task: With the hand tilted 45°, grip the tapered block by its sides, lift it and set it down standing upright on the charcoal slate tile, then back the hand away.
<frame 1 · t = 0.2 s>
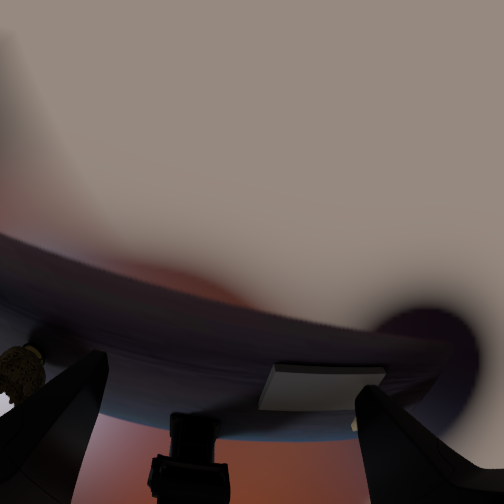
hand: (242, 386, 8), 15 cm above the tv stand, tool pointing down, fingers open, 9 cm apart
slate tile: (322, 386, 30), on the tv stand
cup: (36, 350, 26), on the tv stand
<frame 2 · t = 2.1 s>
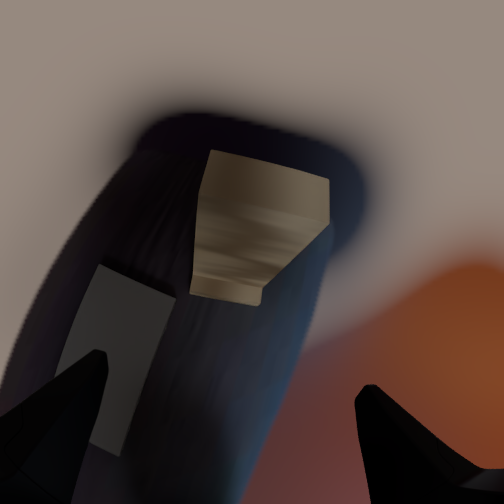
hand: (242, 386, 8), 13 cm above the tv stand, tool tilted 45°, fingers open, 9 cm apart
slate tile: (106, 362, 19), on the tv stand
tapered block: (228, 271, 24), on the tv stand
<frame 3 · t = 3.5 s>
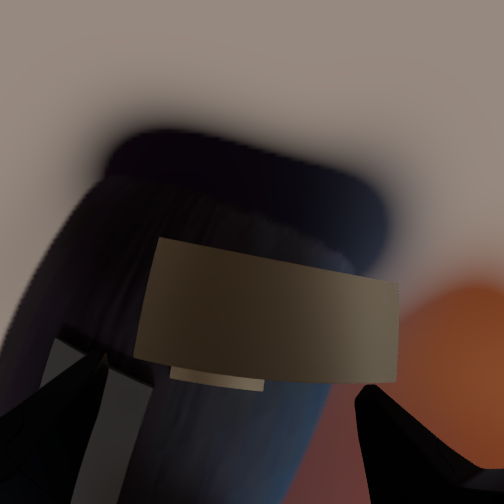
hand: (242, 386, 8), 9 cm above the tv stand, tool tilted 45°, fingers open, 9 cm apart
slate tile: (79, 449, 12), on the tv stand
tapered block: (220, 346, 17), on the tv stand
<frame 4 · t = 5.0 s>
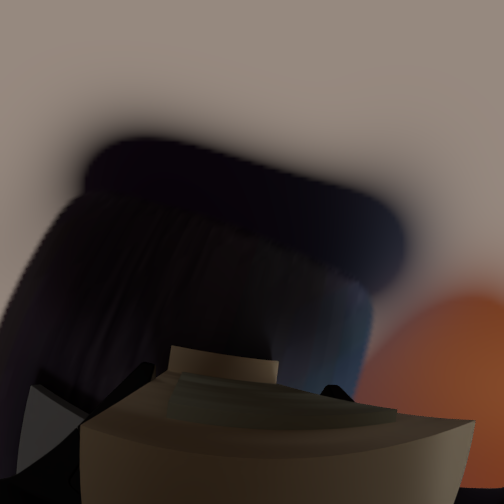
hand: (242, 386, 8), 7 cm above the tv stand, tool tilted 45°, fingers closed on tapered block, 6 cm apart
slate tile: (69, 496, 9), on the tv stand
tapered block: (217, 397, 14), on the tv stand, touching gripper
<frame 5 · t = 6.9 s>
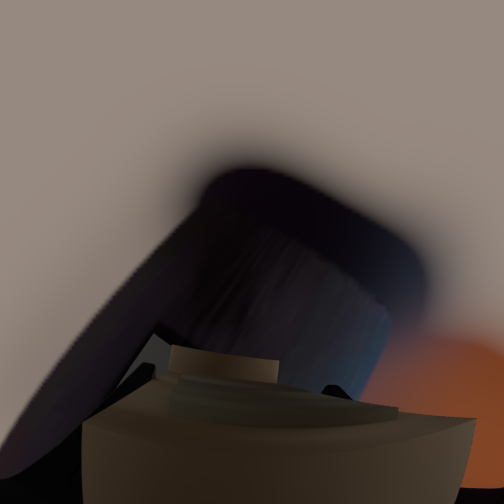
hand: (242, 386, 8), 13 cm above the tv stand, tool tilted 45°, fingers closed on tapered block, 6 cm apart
slate tile: (146, 427, 18), on the tv stand
tapered block: (218, 397, 14), point 7 cm above the tv stand, touching gripper
when the fingers open (9 cm above the tv stand, at t = 9.2 s): tapered block stays where it is, resting on slate tile.
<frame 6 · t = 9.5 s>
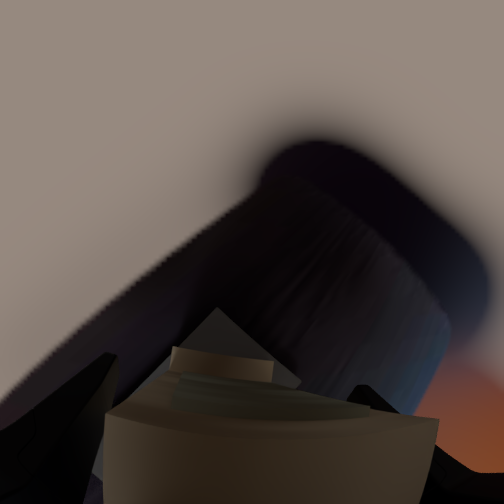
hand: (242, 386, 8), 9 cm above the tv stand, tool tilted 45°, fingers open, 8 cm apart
slate tile: (182, 424, 15), on the tv stand
tapered block: (216, 395, 15), point 1 cm above the tv stand, touching slate tile
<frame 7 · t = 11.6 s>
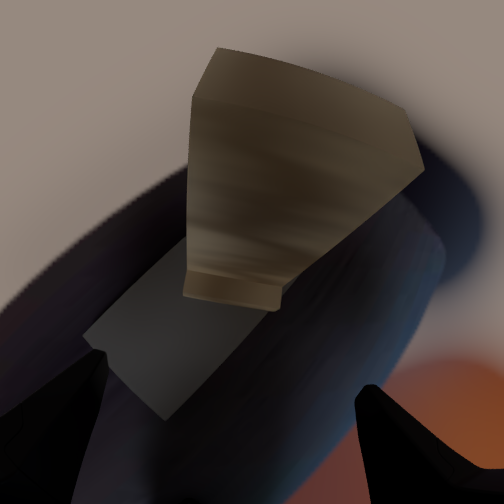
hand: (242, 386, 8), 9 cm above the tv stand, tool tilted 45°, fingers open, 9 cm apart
slate tile: (200, 302, 18), on the tv stand
tapered block: (235, 265, 18), point 1 cm above the tv stand, touching slate tile
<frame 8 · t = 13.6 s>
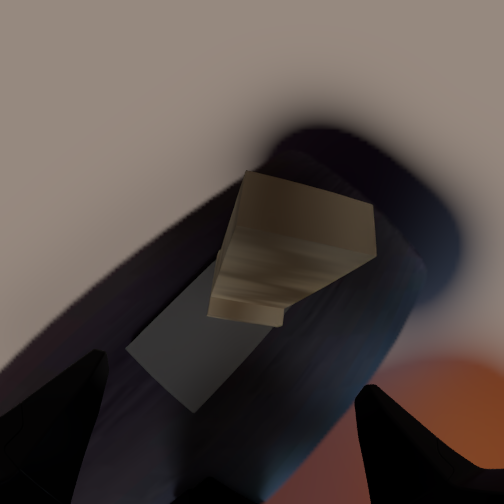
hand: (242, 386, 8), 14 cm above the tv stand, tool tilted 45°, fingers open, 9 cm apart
slate tile: (219, 319, 22), on the tv stand
tapered block: (247, 291, 22), point 1 cm above the tv stand, touching slate tile
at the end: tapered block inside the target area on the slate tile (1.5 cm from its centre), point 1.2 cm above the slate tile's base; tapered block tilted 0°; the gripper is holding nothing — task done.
